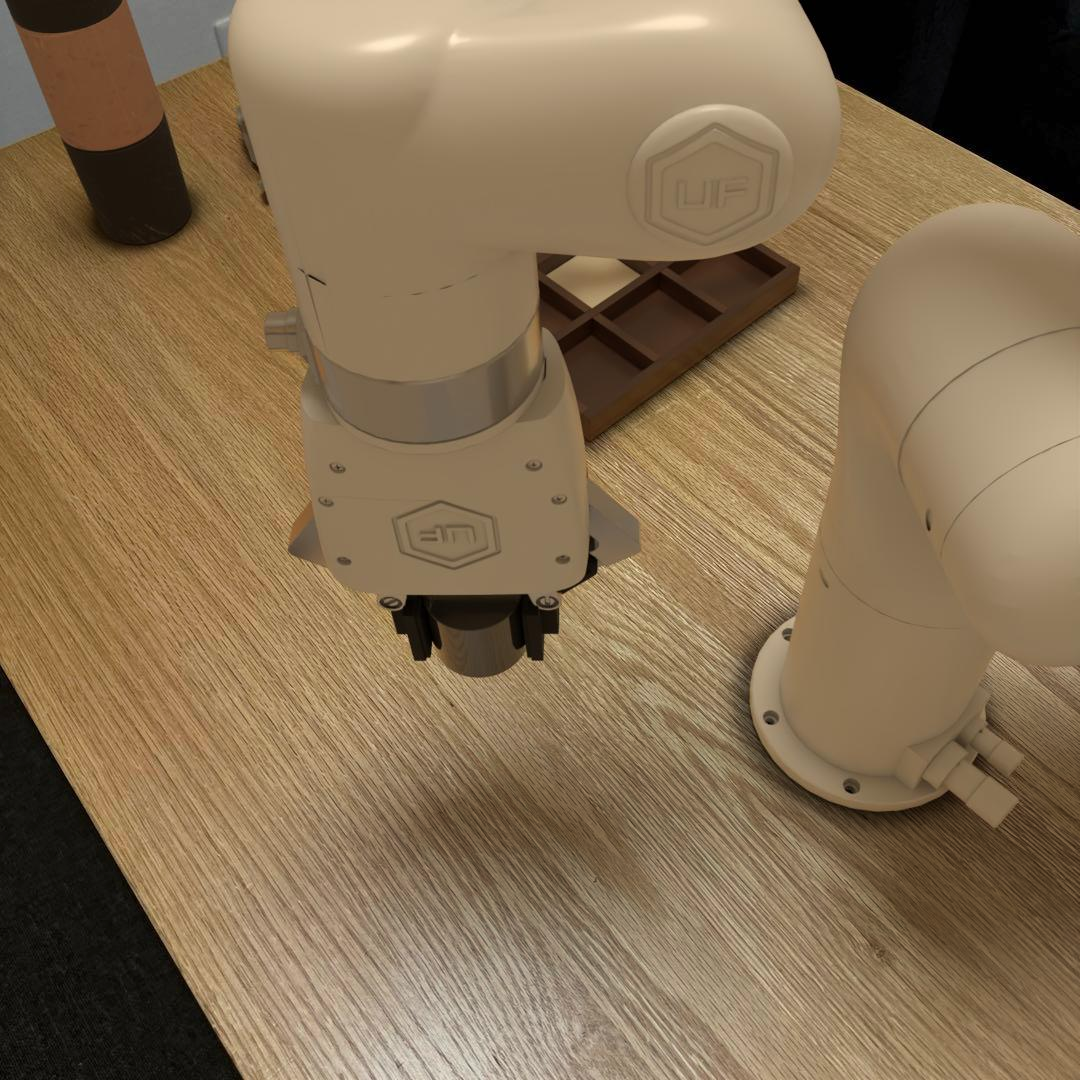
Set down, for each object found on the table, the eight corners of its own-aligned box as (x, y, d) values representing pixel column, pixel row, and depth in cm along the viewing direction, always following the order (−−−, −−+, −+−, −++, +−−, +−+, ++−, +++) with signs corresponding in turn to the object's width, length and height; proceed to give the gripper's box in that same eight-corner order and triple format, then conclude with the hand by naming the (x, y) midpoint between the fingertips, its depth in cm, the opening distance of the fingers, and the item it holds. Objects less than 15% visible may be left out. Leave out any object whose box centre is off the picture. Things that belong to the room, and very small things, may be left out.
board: (796, 290, 86) (800, 267, 84) (589, 442, 78) (589, 419, 77) (596, 165, 96) (596, 142, 94) (393, 289, 88) (389, 266, 86)
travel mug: (93, 197, 96) (-8, -50, 80) (189, 176, 97) (108, -71, 81) (102, 256, 91) (-3, 7, 75) (201, 234, 92) (119, -16, 76)
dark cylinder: (550, 635, 54) (545, 586, 51) (477, 696, 52) (467, 649, 49) (485, 579, 56) (477, 527, 53) (413, 636, 54) (400, 587, 51)
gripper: (151, 429, 37) (284, 707, 52) (691, 422, 36) (671, 707, 51) (199, 268, 42) (309, 566, 57) (682, 258, 41) (666, 564, 55)
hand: (480, 631), depth 54 cm, fingers closed on dark cylinder, 4 cm apart
